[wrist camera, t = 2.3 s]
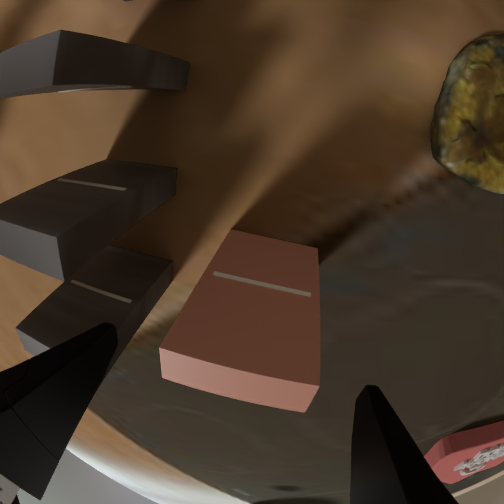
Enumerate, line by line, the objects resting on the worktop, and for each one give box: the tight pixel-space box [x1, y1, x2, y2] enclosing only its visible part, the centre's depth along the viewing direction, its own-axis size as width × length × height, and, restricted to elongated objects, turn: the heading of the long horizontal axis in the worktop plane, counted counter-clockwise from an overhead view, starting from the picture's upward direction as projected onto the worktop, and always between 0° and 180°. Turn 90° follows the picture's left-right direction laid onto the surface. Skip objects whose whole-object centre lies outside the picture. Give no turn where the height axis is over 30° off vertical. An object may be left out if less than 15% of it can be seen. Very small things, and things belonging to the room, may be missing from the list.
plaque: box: [424, 420, 504, 484], centre depth 24 cm, size 18×4×15 cm
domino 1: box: [0, 30, 190, 99], centre depth 9 cm, size 2×5×10 cm, turn 81°
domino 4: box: [159, 229, 320, 412], centre depth 13 cm, size 2×5×10 cm, turn 81°
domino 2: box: [0, 160, 177, 282], centre depth 12 cm, size 2×5×10 cm, turn 81°
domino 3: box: [16, 245, 172, 388], centre depth 15 cm, size 2×5×10 cm, turn 82°
